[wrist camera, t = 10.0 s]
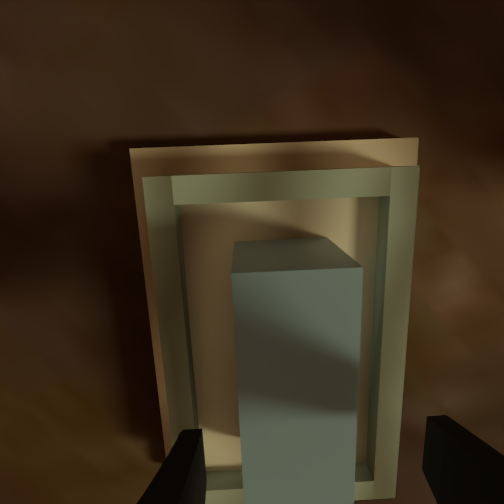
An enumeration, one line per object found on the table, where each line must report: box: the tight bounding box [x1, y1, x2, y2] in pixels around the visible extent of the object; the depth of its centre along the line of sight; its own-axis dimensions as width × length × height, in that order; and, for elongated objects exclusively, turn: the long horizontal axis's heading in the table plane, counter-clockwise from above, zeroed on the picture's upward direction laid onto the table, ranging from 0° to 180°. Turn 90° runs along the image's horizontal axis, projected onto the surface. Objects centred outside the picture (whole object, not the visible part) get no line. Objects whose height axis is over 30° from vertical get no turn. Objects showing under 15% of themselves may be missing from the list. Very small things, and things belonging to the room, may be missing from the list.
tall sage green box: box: [231, 237, 363, 504], centre depth 15 cm, size 4×11×5 cm, turn 2°
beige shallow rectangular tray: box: [129, 137, 420, 504], centre depth 19 cm, size 14×20×4 cm
